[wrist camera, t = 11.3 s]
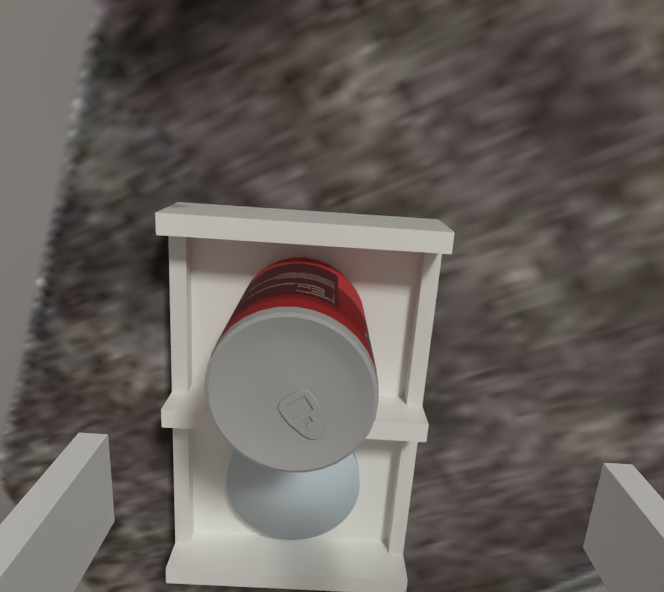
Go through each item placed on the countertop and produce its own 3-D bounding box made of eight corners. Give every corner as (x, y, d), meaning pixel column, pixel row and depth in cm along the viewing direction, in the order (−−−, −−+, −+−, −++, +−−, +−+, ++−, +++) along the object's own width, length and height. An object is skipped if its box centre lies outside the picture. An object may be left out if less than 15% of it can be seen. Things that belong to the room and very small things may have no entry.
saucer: (364, 420, 36) (365, 429, 35) (353, 530, 39) (354, 542, 37) (230, 412, 36) (227, 421, 35) (228, 524, 38) (225, 536, 37)
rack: (438, 219, 33) (454, 232, 29) (397, 545, 40) (405, 594, 36) (178, 202, 33) (155, 212, 28) (183, 534, 40) (166, 583, 36)
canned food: (306, 394, 35) (297, 504, 25) (215, 313, 34) (164, 395, 23) (390, 316, 34) (418, 398, 23) (299, 228, 32) (285, 274, 22)
